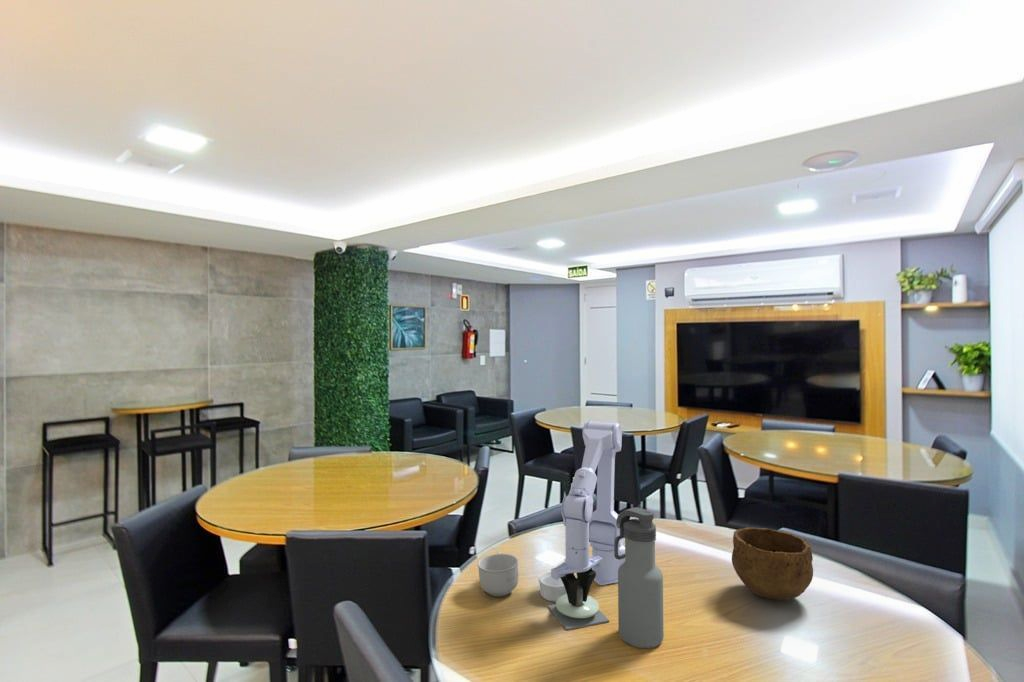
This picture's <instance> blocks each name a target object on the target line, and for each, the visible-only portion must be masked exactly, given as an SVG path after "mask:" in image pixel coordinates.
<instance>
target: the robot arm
mask: <svg viewBox="0 0 1024 682" xmlns="http://www.w3.org/2000/svg"><path fill="white" fill-rule="evenodd" d="M582 438H583V442H584V446H585V448H584V453H583V458H582V464H581V468H579V469H577V470H576V471H575V472H574V477H573V480H572V483H571V486H570V489H569V492H568V494H567V495H566V496H564V497H563V499H562V502H561V508H560V509H561V510H560V512H561V517H562V520H563V521H562V522H563V523H562V524H563V526H564V527H565V536H564V537H565V558H564V562H562V563H561V564H559V565H557V566H556V567H554V568H551V569H550V572H551V577H552V578H553V579H555V580H559V578H561V580H562V582H563V584H564V587H565V590H566V593H567V597H568V601H569V603H570V604H572V605H573V606H575V605H576V602H577V588H578V585H581V586H583V601H584V602H586V601H587V597H588V596H589V594H590V589H591V586H592V584H593V581H594V582H595V583H597V584H598V586H605V585H610V584H615V583H617V584H618V569H619V567H620V565H621V564H622V563H624V562H625V558H623V559H620V560H618V559H616V558H615V556H614V541H615V538H616V537H617V536H620V528H617V525H616V522H617V517H618V515H619V514H618V513H617V511H615V510H614V509H615V508H614V504H615V500H614V499H615V469H616V467H615V466H616V465H615V464H616V462H615V461H616V453H618V452H621V451H622V446H623V445H622V443H623V442H622V441H623V439H622V438H623V431H622V426H621V425H620V423H619V422H605V421H603V422H602V421H591V420H587V421H585V422H584V424H583V426H582ZM596 470H597V475H596ZM595 489H596V506H595V507H596V509H595V510H594V509H593V508H594V507H593V506H594V499H593V496H594V492H595ZM593 510H594V511H593ZM624 542H625V538H622V539H620V540H619V542H618V555H619V556H620V555H623V554H625V544H624ZM590 547H591V550H592V554H591V555H592V556H590ZM575 574H576V575H575Z"/></svg>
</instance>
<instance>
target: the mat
mask: <svg viewBox="0 0 1024 682" xmlns="http://www.w3.org/2000/svg"><path fill="white" fill-rule="evenodd" d="M547 607H548V609H549V611H551V613H552V612H553V613H552V614H553V615H554V616H555V618H556V617H557V618H556V619H557V620H558V621H559V623H560V622H561V623H562V624H561V623H560V624H561V625H562V626H563V628H564V627H565V628H566V629H565V628H564V629H565V630H566V631H570V630H569V629H572V630H576V628H577V629H581V628H580V627H582V628H586V626H587V627H591V626H596V625H600V624H601V625H602V624H606V623H609V622H610V620H609V618H607V616H606V615H605V614H604V613H603V612H602V611H601V610H600V609H599V611H598V612H597V614H595V615H594V616H591V617H588V618H573V617H569V616H566V615H564V614H562V613H560V612H559V611H558V610H557V608H556V603H553V604H548V605H547Z"/></svg>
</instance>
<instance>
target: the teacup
mask: <svg viewBox="0 0 1024 682" xmlns="http://www.w3.org/2000/svg"><path fill="white" fill-rule="evenodd" d="M477 566H478V579H479V586H481V589H482V590H483V591H484V592H486V593H487V594H488V595H490V596H493V597H504V596H508V595H509V594H510V593H512V592H513V590H515V589H516V587H517V586H518V583H519V559H518V558H517V557H516V556H515V555H512V554H508V553H503V552H502V551H501V550H500V551H496V553H493V554H490V555H486V556H484V557H482V558H480V559H479V560H478V562H477Z"/></svg>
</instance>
